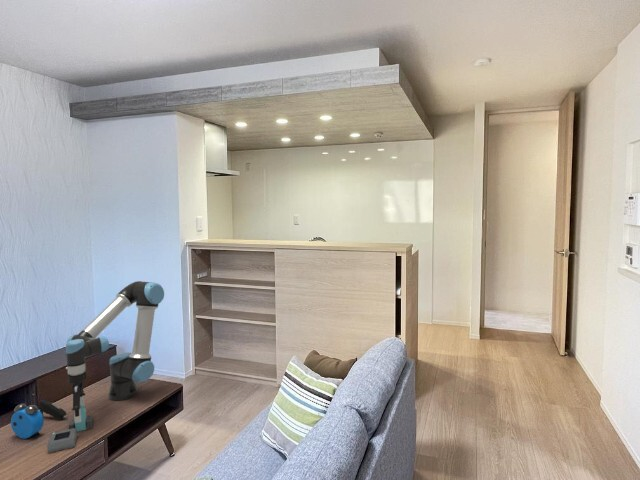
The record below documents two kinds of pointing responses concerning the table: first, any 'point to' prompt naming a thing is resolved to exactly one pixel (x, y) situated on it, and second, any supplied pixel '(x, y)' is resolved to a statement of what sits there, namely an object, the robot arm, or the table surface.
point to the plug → (82, 420)
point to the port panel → (62, 440)
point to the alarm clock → (26, 421)
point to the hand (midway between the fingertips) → (79, 415)
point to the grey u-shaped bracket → (89, 422)
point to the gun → (52, 410)
